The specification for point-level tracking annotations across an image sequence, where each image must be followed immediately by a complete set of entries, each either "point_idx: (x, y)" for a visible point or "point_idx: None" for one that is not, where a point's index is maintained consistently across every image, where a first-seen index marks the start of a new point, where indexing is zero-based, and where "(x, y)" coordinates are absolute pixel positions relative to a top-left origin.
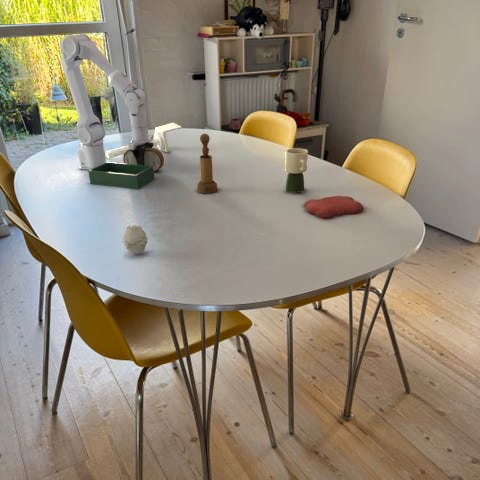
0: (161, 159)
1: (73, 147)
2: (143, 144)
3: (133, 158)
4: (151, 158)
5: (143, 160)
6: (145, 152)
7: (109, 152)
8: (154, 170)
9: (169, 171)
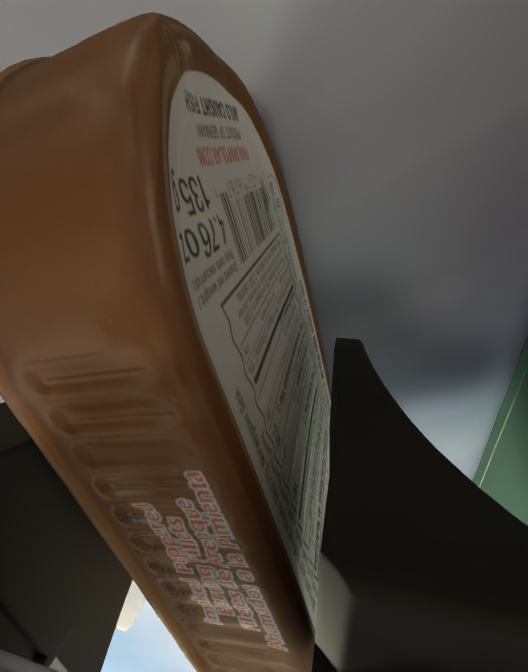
0: (172, 25)
1: (105, 667)
2: (42, 628)
3: (321, 518)
4: (248, 276)
5: (368, 377)
6: (253, 448)
7: (122, 615)
8: (284, 204)
9: (175, 3)
